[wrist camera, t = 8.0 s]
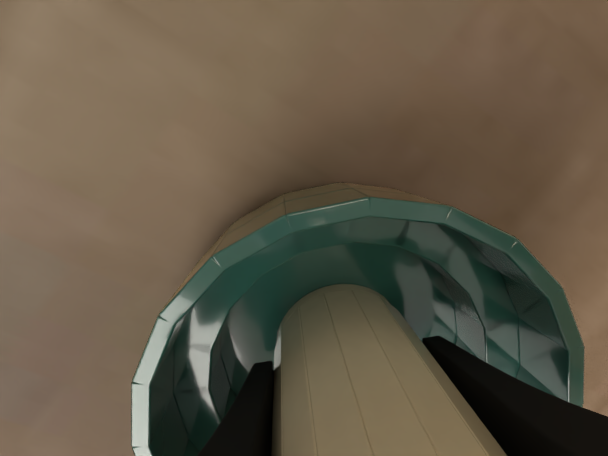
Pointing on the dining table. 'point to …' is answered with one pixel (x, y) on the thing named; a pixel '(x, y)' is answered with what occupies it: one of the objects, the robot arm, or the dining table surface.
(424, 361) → the cup
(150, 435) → the bowl
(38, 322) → the dining table surface
